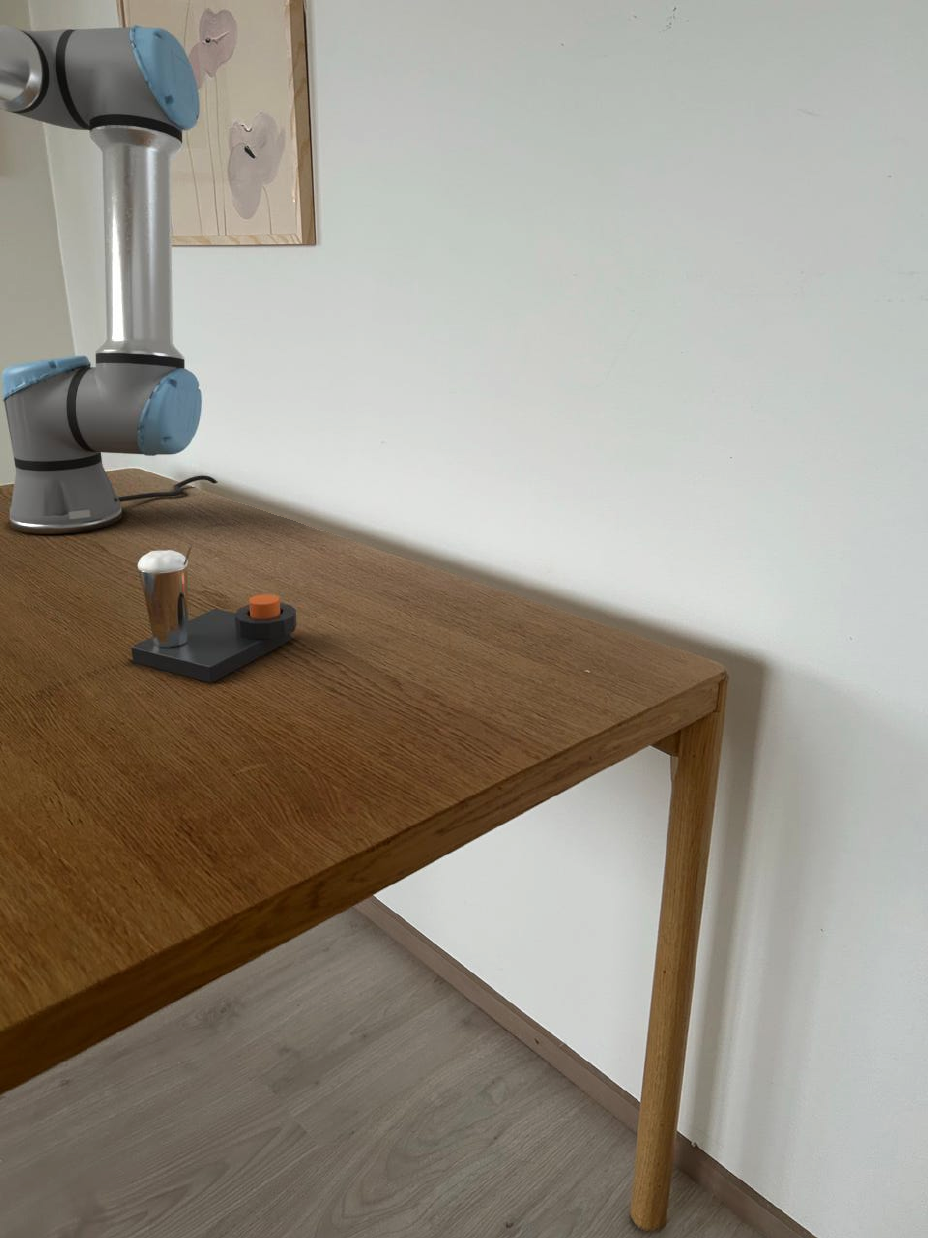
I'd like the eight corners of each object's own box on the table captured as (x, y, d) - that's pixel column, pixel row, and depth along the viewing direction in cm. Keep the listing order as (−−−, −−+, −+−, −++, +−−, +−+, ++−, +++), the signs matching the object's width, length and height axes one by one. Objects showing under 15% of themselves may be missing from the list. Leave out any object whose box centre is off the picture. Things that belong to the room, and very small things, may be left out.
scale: (222, 620, 103) (220, 589, 102) (308, 639, 98) (306, 608, 97) (132, 662, 93) (128, 629, 92) (223, 686, 88) (220, 651, 87)
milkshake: (190, 653, 91) (179, 552, 87) (138, 648, 92) (125, 548, 88) (211, 635, 95) (201, 538, 91) (161, 631, 96) (150, 535, 92)
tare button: (263, 608, 98) (262, 592, 97) (286, 613, 97) (285, 597, 96) (244, 617, 96) (242, 601, 95) (267, 622, 94) (266, 606, 94)
